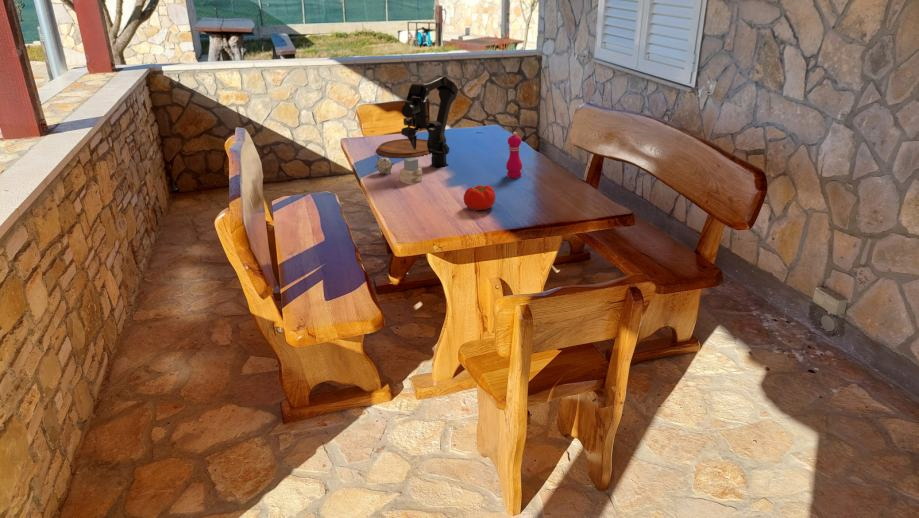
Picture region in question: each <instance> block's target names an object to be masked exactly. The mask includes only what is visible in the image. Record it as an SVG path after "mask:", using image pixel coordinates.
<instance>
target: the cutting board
mask: <svg viewBox="0 0 919 518" xmlns="http://www.w3.org/2000/svg"><path fill="white" fill-rule="evenodd" d="M427 140H428V139H425V138H424V139H423V138H417V140H416V150H414V149H413V147H412V144H411V142H410V140H409V138H399V139H392V140H388V141H385V142H382V143H380V144H379V145H378V147H377V148H376V154H378V155H379V156H381V157H384V158H386V157H388V156H389V157H388V158H392V159H394V158H395V159H407V158H411V157H413V158H421V157H425V156H424V155H426V156H429V155H432V154H431V153H429V151H428V148H427ZM428 154H429V155H428ZM420 156H421V157H420Z"/></svg>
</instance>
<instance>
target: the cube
mask: <svg viewBox="0 0 919 518" xmlns="http://www.w3.org/2000/svg"><path fill="white" fill-rule="evenodd" d="M403 166H404V167H403V168H404V169H405V170H408V171H413V170H418V168H419V159H417V157H414V158H413V157H411V158H403Z"/></svg>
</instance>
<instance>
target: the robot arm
mask: <svg viewBox="0 0 919 518" xmlns="http://www.w3.org/2000/svg"><path fill="white" fill-rule="evenodd" d="M434 90H437V91H438V97H439V100H440V102H439V108H438V111H437V115H436V120H432V121H428V118H429V117H430V115H429V114H428V109H427V102H428V101H429V98H428V96H429V95H430V92H432V91H434ZM458 93H459V88H458V86H457V85H456V84H455V82H453V81H452V80H451V79H449V78H448V77H447V76H446V75H440V74H438V75H435V76H434V77H432V78H430V79H428V80H426V81H423V82H415V83H411V85H410V87H409V89H408V93H407V96H406V101H405V102H404V105H402V107H401V114H402V116H403V117H404V118H403V125H404V127H402V128H401V135H403V136H404V137H406V138H407V139H409V140H410V142H411V144H412V147H413V149H414V150H416V140H417V139H418V138H417V137H418V135H416V134H417V132H422V131H427V133H428V135H427V136H428V138H427V139H426V140H427V148H428V151H429V153H432V154H431V159H430V160H431V164H430V165H429V166H431V167H434V168H437V169H440V168H444V167H447V166H449V163H447V155H448V154H449V153H450V147H449V146H448V144H447V138H446V135H445V132H446V127H447V124H448V123H447V122H448V119H449V113H450V110H451V104H452V103H453V102H454V101H455V100H456V98H457V96H458ZM405 126H406V127H405Z"/></svg>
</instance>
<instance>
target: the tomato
mask: <svg viewBox="0 0 919 518" xmlns="http://www.w3.org/2000/svg"><path fill="white" fill-rule="evenodd" d="M495 201H496V192H495V190H494V188H493V187H492V186H490V185H487V184H486V185H476V186H474V187H468V188H467V189H466V190H465V192H464V193H463V203H464V205H465V206H466V207H467V208H468V209H470V210H474V211H480V210H483V211H485V210H488V209H490V208H491V207H493V205H494V204H495Z"/></svg>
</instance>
